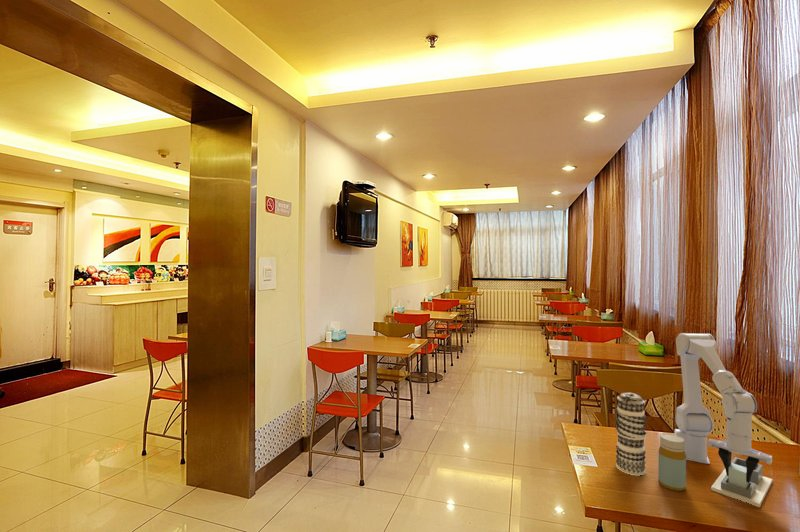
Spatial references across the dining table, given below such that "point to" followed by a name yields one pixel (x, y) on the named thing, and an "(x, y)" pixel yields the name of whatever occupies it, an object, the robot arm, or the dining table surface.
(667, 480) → the bottle
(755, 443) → the dining table surface
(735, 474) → the plug
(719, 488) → the board with square sockets
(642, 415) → the decorative candle
